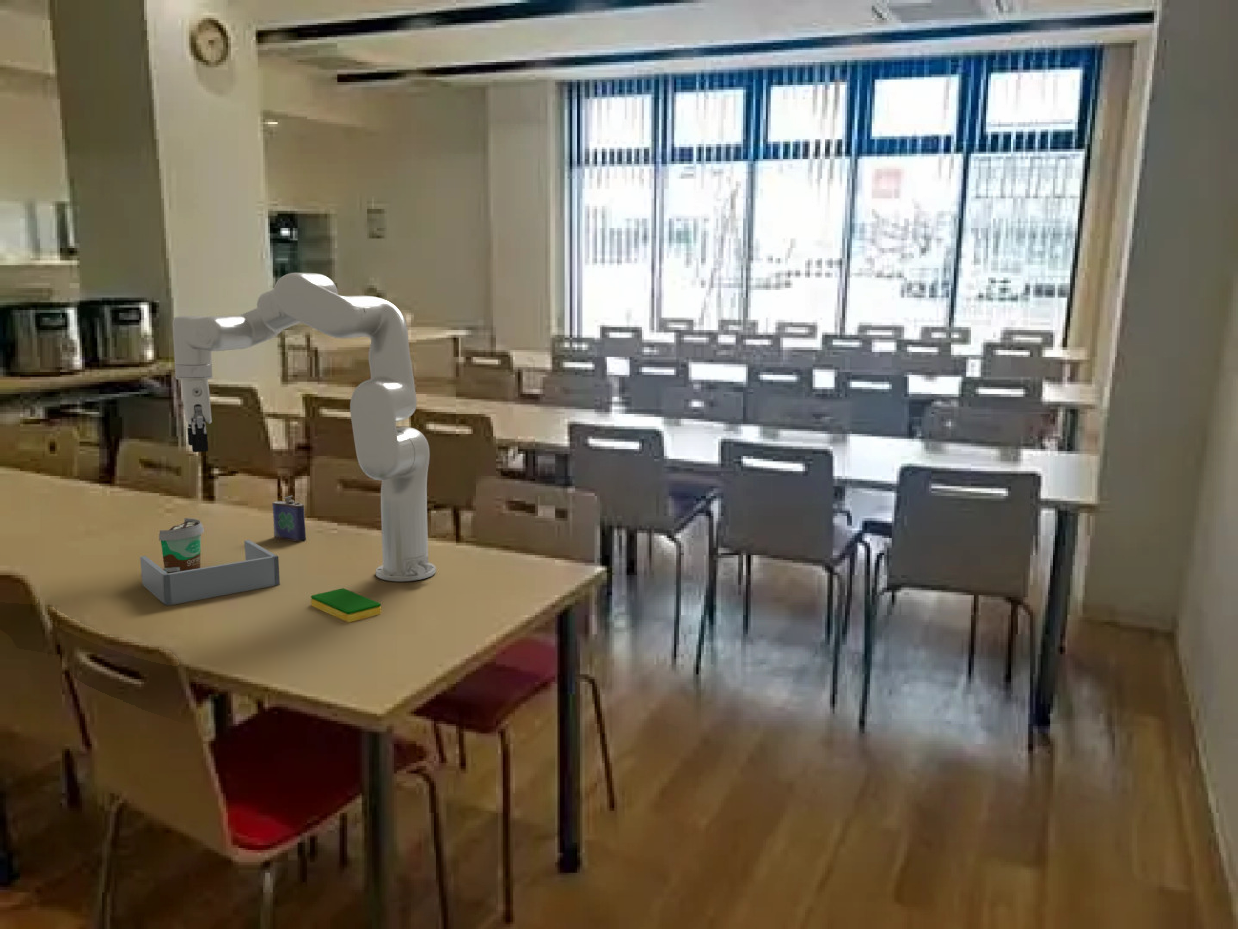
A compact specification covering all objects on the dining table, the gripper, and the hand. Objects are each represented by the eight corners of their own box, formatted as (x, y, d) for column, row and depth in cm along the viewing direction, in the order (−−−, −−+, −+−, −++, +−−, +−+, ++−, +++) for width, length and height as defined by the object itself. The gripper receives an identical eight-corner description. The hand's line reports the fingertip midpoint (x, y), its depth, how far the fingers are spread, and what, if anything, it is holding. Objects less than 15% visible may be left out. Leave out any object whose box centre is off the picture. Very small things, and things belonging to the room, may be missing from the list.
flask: (271, 538, 236) (269, 495, 234) (280, 535, 239) (278, 493, 237) (301, 542, 232) (299, 499, 230) (309, 539, 235) (307, 496, 233)
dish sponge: (343, 599, 191) (343, 587, 191) (382, 615, 182) (381, 603, 181) (310, 607, 186) (310, 595, 186) (348, 624, 177) (348, 611, 176)
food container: (190, 577, 203) (187, 531, 201) (161, 577, 203) (158, 531, 201) (216, 561, 215) (213, 517, 213) (188, 561, 215) (185, 517, 214)
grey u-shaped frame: (279, 584, 199) (278, 556, 198) (166, 605, 185) (164, 575, 184) (250, 566, 212) (249, 539, 211) (142, 584, 198) (140, 556, 197)
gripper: (216, 375, 208) (220, 453, 211) (208, 368, 223) (211, 441, 226) (178, 376, 205) (183, 455, 208) (172, 369, 220) (176, 443, 223)
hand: (198, 448), depth 217 cm, fingers open, 9 cm apart
